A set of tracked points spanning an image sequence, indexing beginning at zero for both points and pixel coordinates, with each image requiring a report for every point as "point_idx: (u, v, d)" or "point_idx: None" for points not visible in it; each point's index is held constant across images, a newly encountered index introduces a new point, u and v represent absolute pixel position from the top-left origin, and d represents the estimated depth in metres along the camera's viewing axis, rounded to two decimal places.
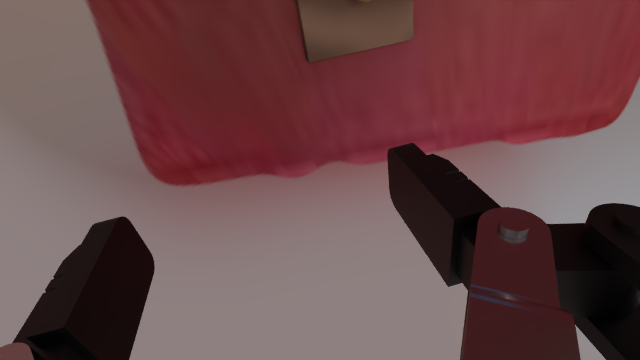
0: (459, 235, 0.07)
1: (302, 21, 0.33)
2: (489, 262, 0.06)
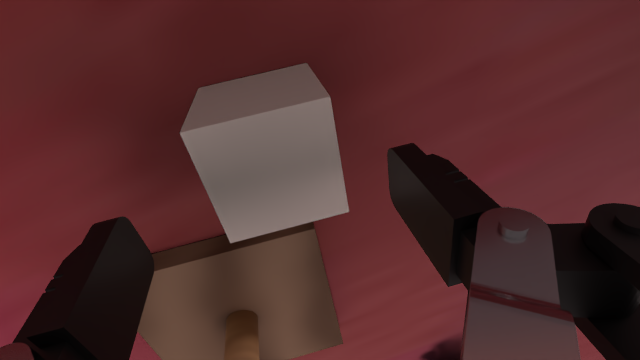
0: (459, 235, 0.07)
1: (175, 265, 0.18)
2: (489, 262, 0.06)
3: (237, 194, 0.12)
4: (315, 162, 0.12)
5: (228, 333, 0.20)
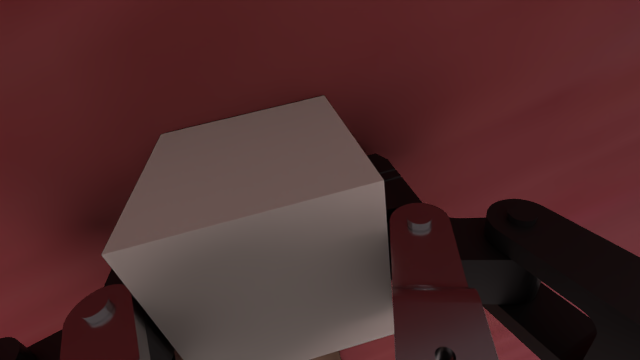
0: None
1: None
2: (405, 258, 0.06)
3: (216, 331, 0.07)
4: (349, 277, 0.07)
5: None
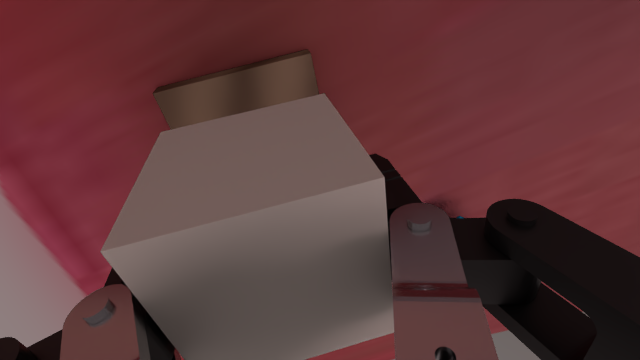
0: None
1: (208, 80, 0.24)
2: (404, 258, 0.06)
3: (216, 329, 0.07)
4: (349, 275, 0.07)
5: None
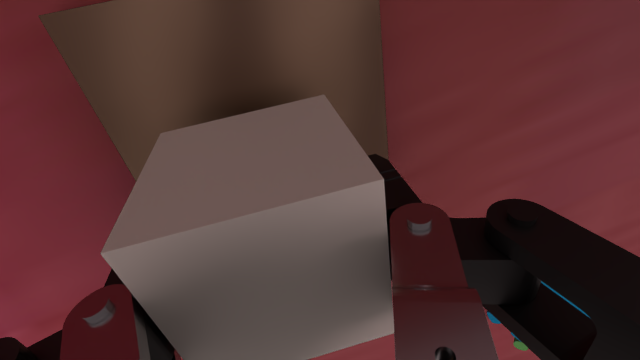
0: None
1: None
2: (404, 258, 0.06)
3: (216, 330, 0.07)
4: (348, 276, 0.07)
5: None
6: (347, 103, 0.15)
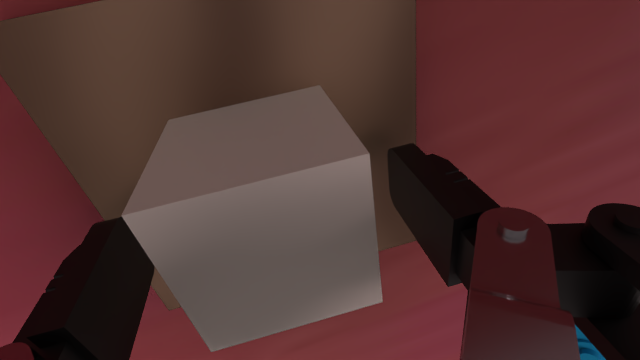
0: (459, 235, 0.07)
1: None
2: (489, 262, 0.06)
3: (220, 292, 0.08)
4: (339, 244, 0.08)
5: None
6: (370, 131, 0.12)
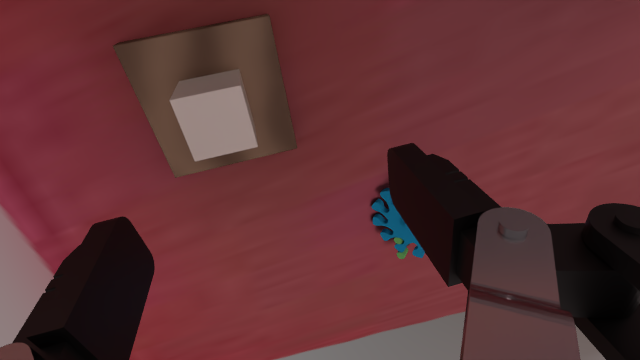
0: (459, 235, 0.07)
1: (168, 36, 0.25)
2: (489, 262, 0.06)
3: (197, 133, 0.24)
4: (236, 118, 0.24)
5: None
6: (264, 89, 0.29)
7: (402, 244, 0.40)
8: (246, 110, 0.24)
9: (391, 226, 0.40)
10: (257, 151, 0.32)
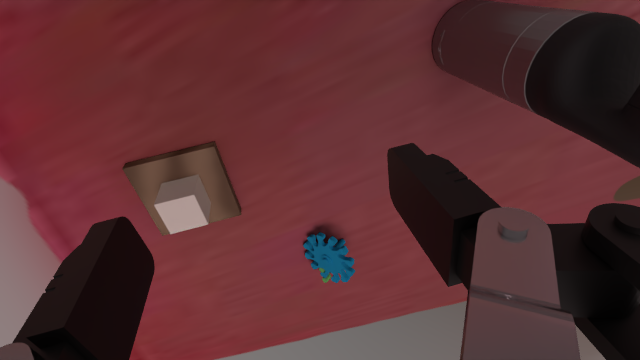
0: (459, 235, 0.07)
1: (154, 161, 0.43)
2: (489, 262, 0.06)
3: (171, 219, 0.42)
4: (193, 210, 0.42)
5: None
6: (215, 184, 0.46)
7: (324, 272, 0.57)
8: (198, 206, 0.42)
9: (316, 260, 0.57)
10: (214, 218, 0.49)
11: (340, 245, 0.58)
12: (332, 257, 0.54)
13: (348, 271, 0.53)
